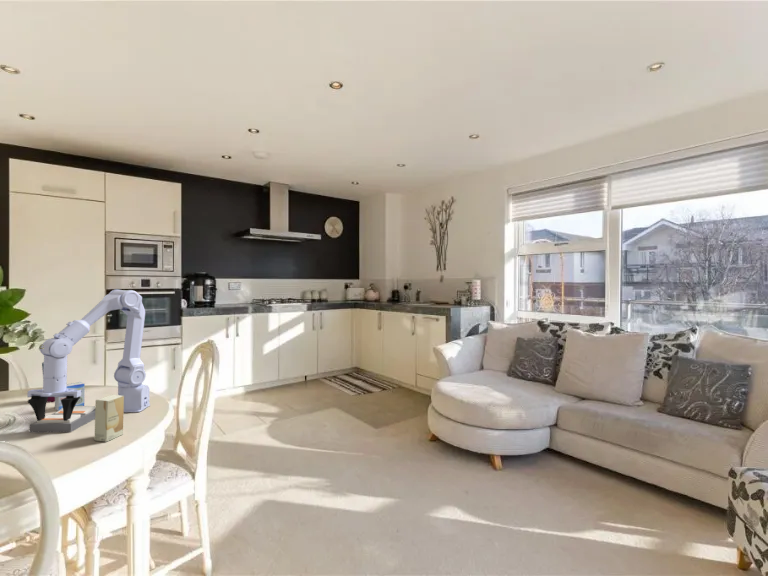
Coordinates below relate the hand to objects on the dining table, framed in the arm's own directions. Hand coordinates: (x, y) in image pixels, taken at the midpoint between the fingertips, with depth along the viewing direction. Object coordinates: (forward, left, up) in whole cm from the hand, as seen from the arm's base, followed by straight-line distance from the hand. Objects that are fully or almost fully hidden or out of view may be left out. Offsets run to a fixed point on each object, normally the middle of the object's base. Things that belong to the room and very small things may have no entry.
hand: (53, 419), depth 123 cm
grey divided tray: (0, -6, -3) cm, 7 cm away
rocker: (0, -2, -1) cm, 2 cm away
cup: (+22, -31, -4) cm, 38 cm away
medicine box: (+10, -22, -4) cm, 24 cm away
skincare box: (-20, +6, -4) cm, 21 cm away
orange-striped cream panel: (0, -10, -1) cm, 10 cm away
